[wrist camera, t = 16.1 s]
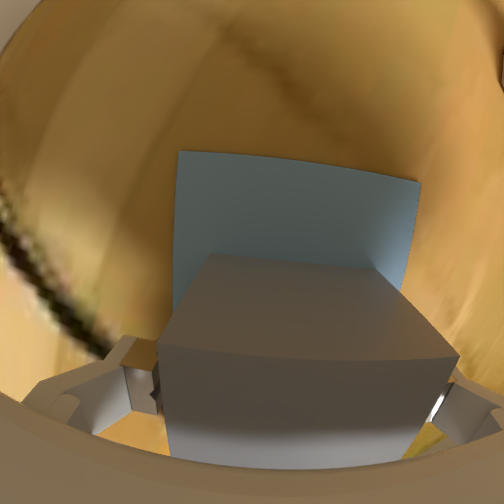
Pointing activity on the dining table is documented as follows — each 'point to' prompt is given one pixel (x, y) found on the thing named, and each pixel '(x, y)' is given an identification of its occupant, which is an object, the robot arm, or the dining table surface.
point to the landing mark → (289, 214)
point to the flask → (503, 73)
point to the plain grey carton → (297, 366)
